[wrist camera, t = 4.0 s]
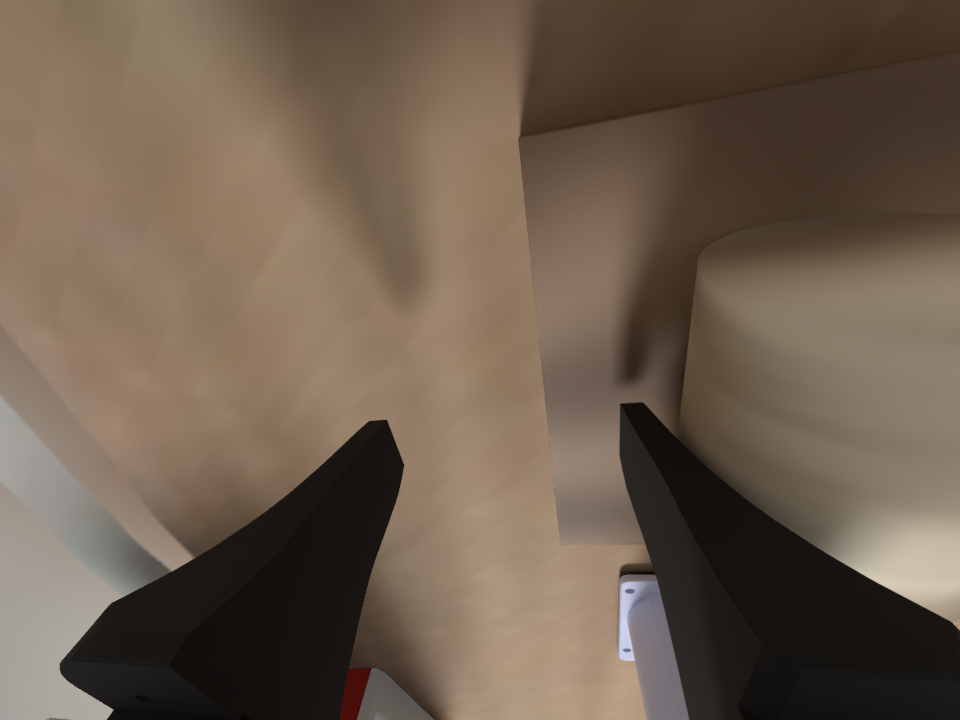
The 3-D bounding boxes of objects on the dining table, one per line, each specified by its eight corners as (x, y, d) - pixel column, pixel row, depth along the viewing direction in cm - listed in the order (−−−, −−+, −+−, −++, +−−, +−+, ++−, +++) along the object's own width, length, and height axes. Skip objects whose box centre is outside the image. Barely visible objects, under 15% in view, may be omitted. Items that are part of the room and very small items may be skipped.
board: (1228, 479, 15) (1347, 540, 12) (556, 497, 19) (560, 545, 17) (1951, -140, 7) (2608, -262, 5) (520, 135, 11) (518, 138, 9)
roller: (806, 488, 14) (993, 696, 9) (638, 507, 15) (723, 711, 9) (914, 199, 9) (1489, 289, 4) (652, 243, 10) (850, 373, 4)
